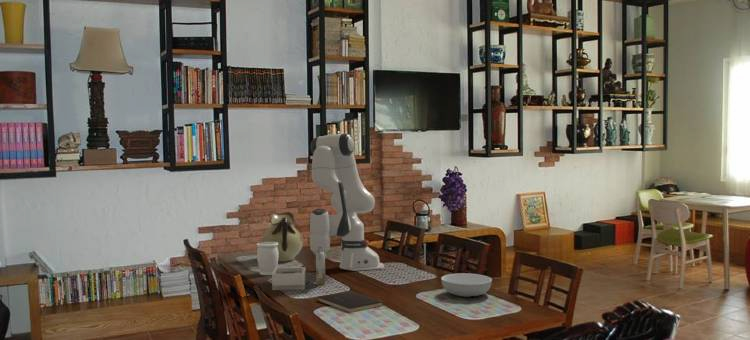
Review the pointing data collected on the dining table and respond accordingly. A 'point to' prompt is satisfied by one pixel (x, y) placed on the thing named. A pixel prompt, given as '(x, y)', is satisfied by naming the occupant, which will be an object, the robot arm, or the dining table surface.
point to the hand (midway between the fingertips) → (320, 276)
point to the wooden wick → (320, 280)
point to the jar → (267, 257)
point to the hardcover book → (350, 301)
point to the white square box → (289, 278)
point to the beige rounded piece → (284, 236)
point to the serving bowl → (466, 284)
